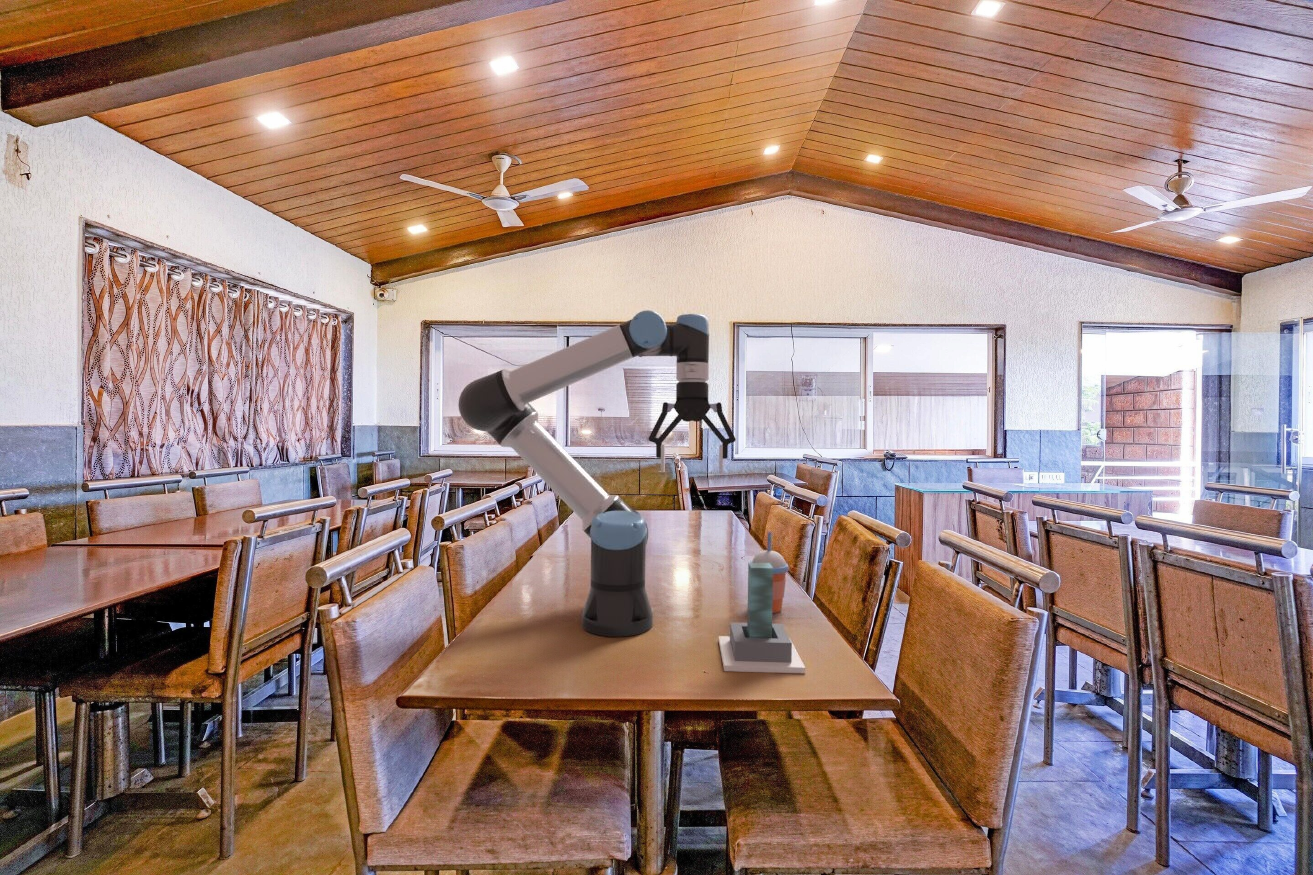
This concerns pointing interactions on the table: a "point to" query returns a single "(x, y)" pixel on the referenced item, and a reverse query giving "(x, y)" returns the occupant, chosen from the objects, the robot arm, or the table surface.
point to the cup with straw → (774, 572)
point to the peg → (760, 600)
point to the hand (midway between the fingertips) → (691, 472)
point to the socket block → (759, 651)
